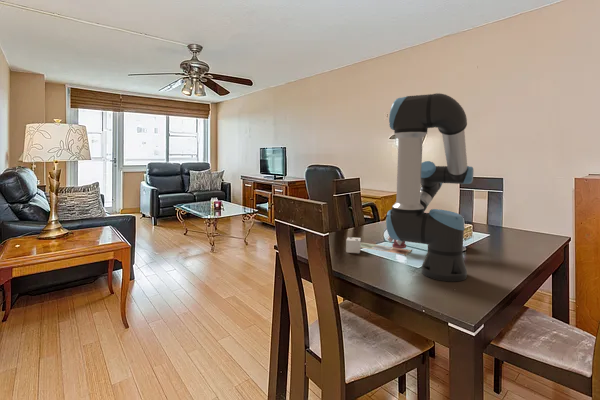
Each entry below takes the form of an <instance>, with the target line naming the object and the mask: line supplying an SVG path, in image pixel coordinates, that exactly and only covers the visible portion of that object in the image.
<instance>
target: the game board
mask: <svg viewBox="0 0 600 400" xmlns="http://www.w3.org/2000/svg"><path fill="white" fill-rule="evenodd" d="M361 249H367V250H374V251H379V252H380V251H381V252H386V253H393V254H399V255H403V256H404V255H405V257H406V256H408V255H409V254H410V253H412V252H413V251H412V249H406V248H394V247H393V246H386V245H380V244H374V243H368V242H362V241H361ZM408 253H409V254H408Z"/></svg>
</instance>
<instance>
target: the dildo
mask: <svg viewBox="0 0 600 400" xmlns="http://www.w3.org/2000/svg"><path fill="white" fill-rule="evenodd" d="M391 247H394V248H401V249H406V248H407V244H406V241H403V242H402V243H401V245H399V244H398V243H397V242H396V240H394V239H393V243H392V246H391Z"/></svg>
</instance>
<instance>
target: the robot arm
mask: <svg viewBox="0 0 600 400" xmlns="http://www.w3.org/2000/svg"><path fill="white" fill-rule="evenodd" d="M389 110H390V111H389V117H388V123H389V125H388V126H389V128H390V129H391V130H393V132H394V133H393V134H394V136H395V137H396V138H397V139H398V140H397V167H396V169H397V173H396V174H397V175H396V201H395V202H394V204H392V206H391V209H389V210H388V211H387V214H386V220H385V225H386V232H387V234H388V237H387V238H386V239H387V240H388V242H389V243H392V242H393V241H394V240H396V242H397V243H398V244H399V245H401V243H402V242H403V241H405V243H406V242H407V243H415V244H421V245H422V244H423V245H427V253H426V254H425V257H424V260H423V262H422V264H421V274H423V275H424V276H425V277H428V278H431V279H434V280H437V281H444V282H462V281H464V280H466V279H467V275H468V274H467V273H468V270H467V267H466V264H465V260H464V256H463V251H464V234H465V230H466V229H465V228H466V227H465V218H464V217H463V215H461V214H460V213H457V212H454V211H452V210H451V211H450V210H445V209H437V208H432V209H430V210H429V211H428V212H425V211H426V210H427V208H428V207H429V205H430V203H431V202H432V201H433V199H434V197H435V196H436V195H437V194H438V192H439V190H440V189H441V187H442V185H443V184H456V185H470V184H472V183H473V181H474V167H473V166H470V165H468V159H467V158H468V157H467V146H466V134H465V129H466V128H467V125H468V119H467V114H466V112H465V110H464V108H463V107H462V105H461V104H460V103H459V102H458V100H456V99H455V98H453V97H451V96H450V95H448V94H444V93H440V92H439V93H438V92H437V93H432V94H431V93H428V94H419V95H406V96H402V97H401V96H400V97H398V98H396V99H395V100H394V101H393V103H391V107H390V109H389ZM432 128H437V130H438V132H439V133H440V134H441V137H442V141H443V148H444V154H445V160H446V161H445V162H446V165H436V164H435V162H433V161H430V160H426V161H425V160H424V161H423V141H424V137H425V136H426V135H427V134H428V129H432ZM422 161H423V162H422Z"/></svg>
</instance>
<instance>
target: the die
mask: <svg viewBox="0 0 600 400" xmlns="http://www.w3.org/2000/svg"><path fill="white" fill-rule="evenodd" d="M361 242H362V240H361V237H354V236H353V237H351V236H350V237H349V236H347V238H346V242H345V246H346V248H345V252H346V253H351V254H361V249H362V248H361Z"/></svg>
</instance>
